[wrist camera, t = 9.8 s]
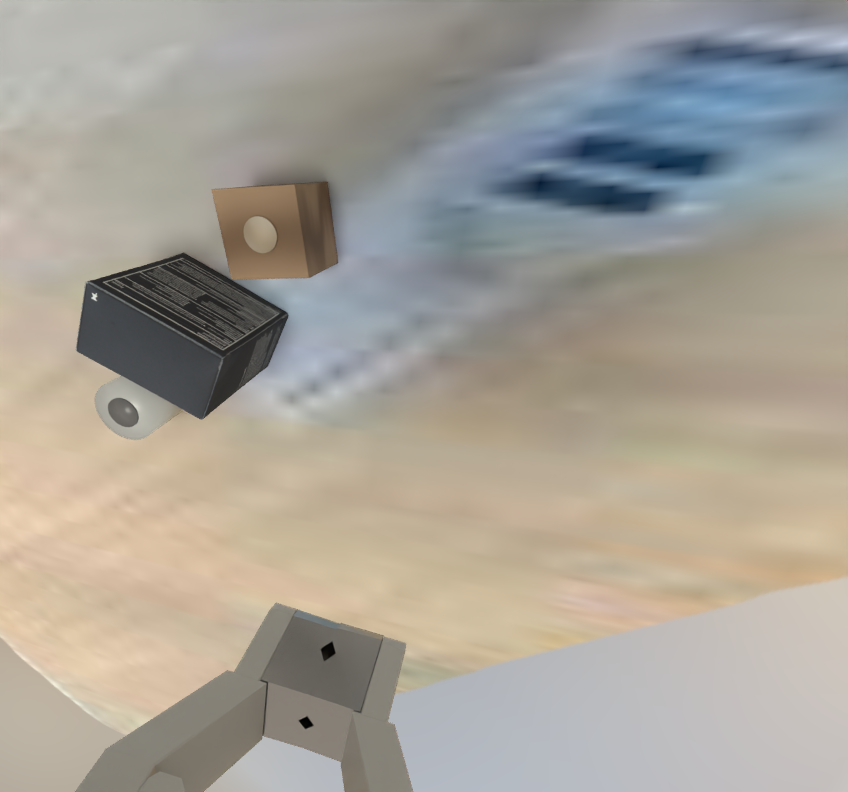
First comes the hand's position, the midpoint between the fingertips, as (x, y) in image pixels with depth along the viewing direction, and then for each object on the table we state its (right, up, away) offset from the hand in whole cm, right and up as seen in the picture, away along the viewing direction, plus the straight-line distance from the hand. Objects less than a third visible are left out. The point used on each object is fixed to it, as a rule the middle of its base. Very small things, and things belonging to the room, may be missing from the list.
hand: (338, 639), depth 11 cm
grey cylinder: (-23, +6, +37) cm, 44 cm away
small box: (-16, +13, +33) cm, 38 cm away
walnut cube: (-8, +19, +28) cm, 35 cm away
